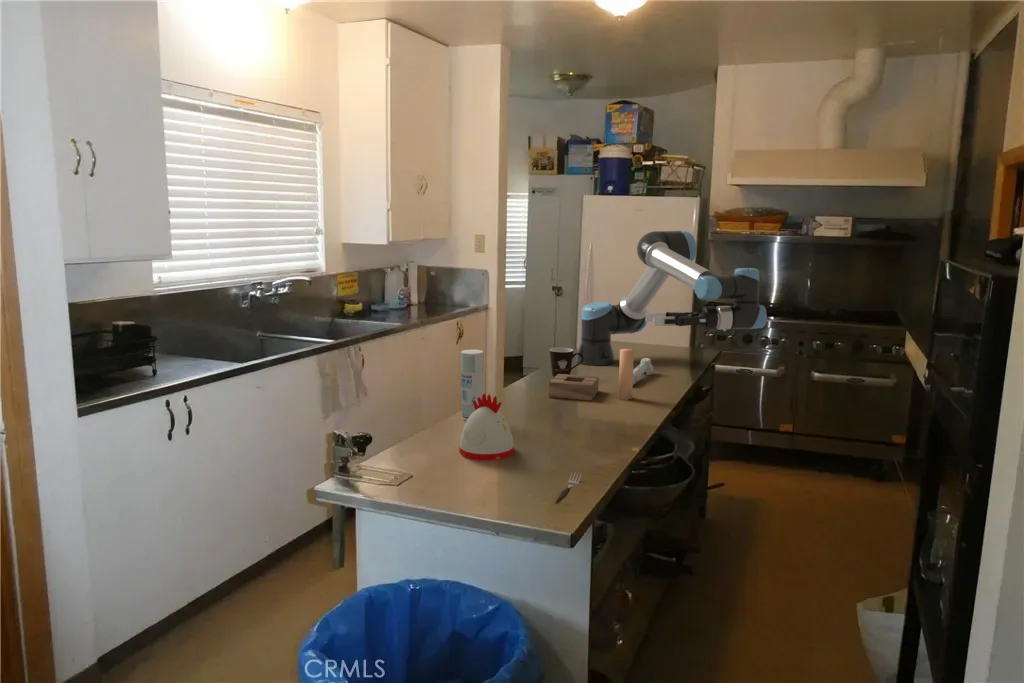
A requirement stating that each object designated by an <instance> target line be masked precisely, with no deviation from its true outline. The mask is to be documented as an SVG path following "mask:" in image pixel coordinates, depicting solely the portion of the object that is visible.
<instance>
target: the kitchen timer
mask: <svg viewBox="0 0 1024 683" xmlns="http://www.w3.org/2000/svg"><path fill="white" fill-rule="evenodd" d="M497 397H498V396H496V395H495V396H494V397H493V399H492V396H491V394H488V395H486V393H483V395H482V400H481V398H480V397H478V398H477V400H478V405H477V403H476V401H473V405H474V407H475V410H476V411H474V412H473V413H472V414H471V415H470V417H469V418H468V420H467V421H465V423H464V425H463V430H462V432H461V436H460V440H459V446H458V447H459V449H458V450H459V451H458V452H459V454H460V455H461V456H462V457H464V458H467V459H470V460H477V461H496V460H503V459H506V458H508V457H510V456H512V455H514V452H515V450H514V449H515V446H514V438H513V434H512V431H511V428H510V424H509V422H508V421H507V420H506V418H505V417H504V415H503V414H502V412H500V411H499V410H500V408H501V405H502V401H500V402H498V400H497Z"/></svg>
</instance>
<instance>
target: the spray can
mask: <svg viewBox="0 0 1024 683" xmlns="http://www.w3.org/2000/svg"><path fill="white" fill-rule="evenodd" d="M484 356H485V355H484V351H483V350H481V349H465V350H461V351H460V369H461V370H460V372H461V376H460V377H461V381H460V382H461V384H460V385H461V386H460V387H461V419H462V421H465V422H466V421H467V420H468V418H469V417H470V415H471V414H472V413H473V412H474V411H476V410H475V407H474V405H473V401H476V403H477V405H478V400H477V398H478V397H480V398H481V400H482V395H483V394H484Z"/></svg>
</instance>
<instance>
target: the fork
mask: <svg viewBox="0 0 1024 683" xmlns="http://www.w3.org/2000/svg"><path fill="white" fill-rule="evenodd" d="M573 472H574V471H573V470H572V472H571V473H570V477H569V479H568V481H567V483H570V484H567V487H566V488H564V489H563V490H562V491H561V493H559V496H558V497H557V499H556V500H555V504H558V503H559V502H560V501H561V500H562V499H563V498H564V497H565V496H566V495H567V494H568V493H569V490H570V488H571V487H574V485H573V484H580V481H581V477H582V473H583V472H579V471H578V472H576V471H575V472H574V474H573ZM576 473H577V474H576ZM579 474H580V475H579ZM575 476H576V477H575Z"/></svg>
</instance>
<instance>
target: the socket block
mask: <svg viewBox="0 0 1024 683" xmlns="http://www.w3.org/2000/svg"><path fill="white" fill-rule="evenodd" d="M596 393H599V376H598V375H597V376H595V375H581V374H580V375H579V374H570V375H567V374H557V375H556V376H555V377H554V378H553V377H552V379H551V380H550V381H549V384H548V398H550V397H556V398H555V399H564V398H568V399H567V400H577V399H578V401H579V400H581V401H590V400H592V401H593V399H594V398H595V396H596V395H597V394H596Z"/></svg>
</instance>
